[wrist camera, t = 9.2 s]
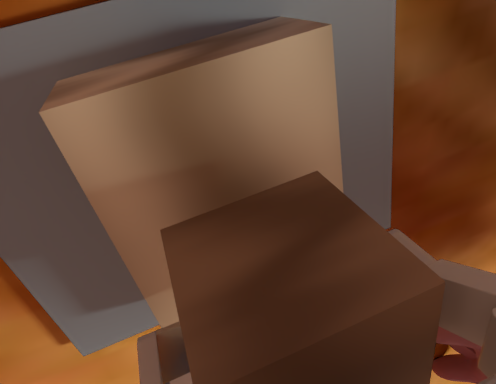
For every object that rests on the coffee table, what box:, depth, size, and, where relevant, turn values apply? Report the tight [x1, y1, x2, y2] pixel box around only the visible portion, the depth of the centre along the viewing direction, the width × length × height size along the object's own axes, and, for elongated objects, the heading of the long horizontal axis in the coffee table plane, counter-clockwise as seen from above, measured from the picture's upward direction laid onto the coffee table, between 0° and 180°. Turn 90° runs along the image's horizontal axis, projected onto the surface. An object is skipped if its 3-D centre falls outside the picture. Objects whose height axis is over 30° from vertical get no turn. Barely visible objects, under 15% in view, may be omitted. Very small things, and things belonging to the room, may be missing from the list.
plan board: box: [0, 0, 396, 356], centre depth 17 cm, size 20×16×1 cm
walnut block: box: [160, 171, 445, 384], centre depth 10 cm, size 5×5×5 cm
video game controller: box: [432, 327, 488, 384], centre depth 33 cm, size 10×5×7 cm, turn 27°
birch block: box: [39, 16, 343, 328], centre depth 15 cm, size 9×12×4 cm
